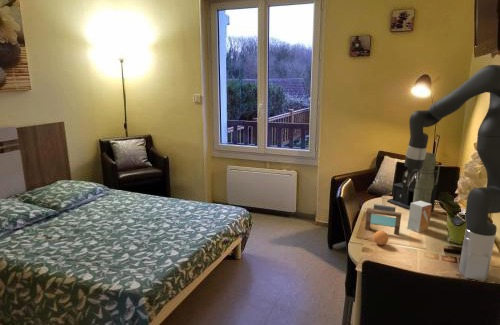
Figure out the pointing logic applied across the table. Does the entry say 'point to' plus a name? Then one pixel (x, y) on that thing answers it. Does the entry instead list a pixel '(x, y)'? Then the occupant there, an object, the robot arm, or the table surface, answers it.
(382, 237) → the ball
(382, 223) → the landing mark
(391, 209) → the wall
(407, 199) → the black drawer cabinet
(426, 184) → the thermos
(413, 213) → the small box
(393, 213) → the bridge
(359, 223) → the table surface
